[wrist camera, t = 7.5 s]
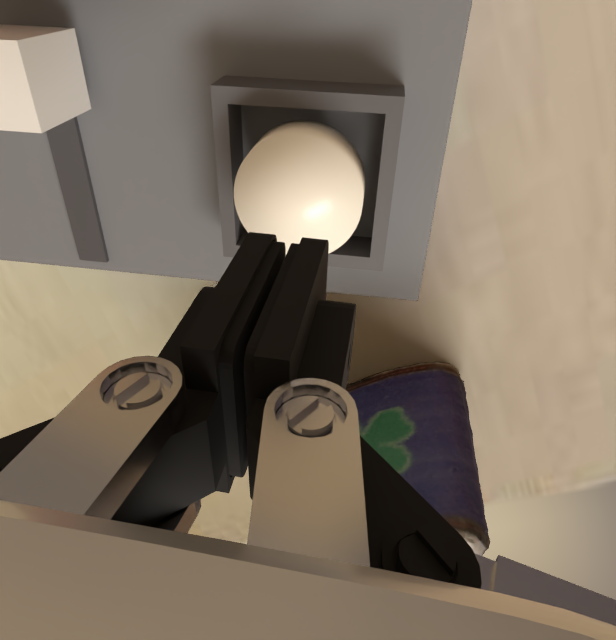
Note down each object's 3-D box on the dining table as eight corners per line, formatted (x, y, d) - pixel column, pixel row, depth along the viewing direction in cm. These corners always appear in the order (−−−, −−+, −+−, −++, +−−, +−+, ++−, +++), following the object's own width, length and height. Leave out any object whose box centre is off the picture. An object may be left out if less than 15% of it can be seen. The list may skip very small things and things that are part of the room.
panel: (27, 239, 24) (-25, 278, 21) (-154, -322, 14) (-299, -396, 11) (416, 276, 22) (419, 324, 19) (522, -338, 12) (561, -431, 9)
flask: (312, 438, 29) (276, 642, 20) (285, 403, 28) (234, 605, 19) (472, 390, 25) (510, 614, 17) (449, 348, 24) (479, 565, 15)
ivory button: (248, 232, 18) (237, 253, 17) (243, 115, 16) (229, 129, 15) (360, 242, 18) (356, 264, 17) (371, 124, 16) (368, 139, 14)
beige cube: (9, 103, 18) (-53, 126, 15) (-15, 23, 16) (-87, 34, 14) (91, 108, 17) (41, 133, 15) (74, 28, 16) (17, 40, 14)
